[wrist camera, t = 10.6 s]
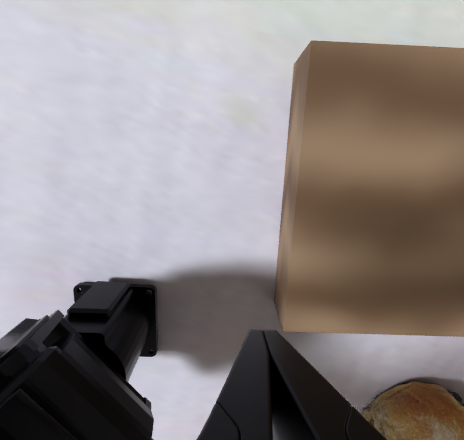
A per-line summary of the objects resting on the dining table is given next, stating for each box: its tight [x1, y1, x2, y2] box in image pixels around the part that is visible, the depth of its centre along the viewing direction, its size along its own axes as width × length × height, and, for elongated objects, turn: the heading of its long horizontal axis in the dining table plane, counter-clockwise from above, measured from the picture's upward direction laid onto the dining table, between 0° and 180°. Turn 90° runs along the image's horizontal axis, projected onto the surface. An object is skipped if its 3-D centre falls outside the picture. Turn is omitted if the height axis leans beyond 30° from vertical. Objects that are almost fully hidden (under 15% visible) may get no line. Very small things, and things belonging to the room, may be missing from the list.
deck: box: [274, 41, 464, 337], centre depth 19 cm, size 18×14×4 cm
